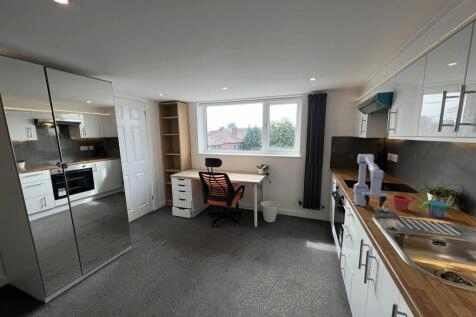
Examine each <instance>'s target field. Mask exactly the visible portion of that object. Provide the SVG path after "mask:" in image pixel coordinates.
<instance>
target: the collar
mask: <svg viewBox="0 0 476 317" xmlns="http://www.w3.org/2000/svg"><path fill="white" fill-rule="evenodd" d="M373 211H374V212H373ZM372 212H373V213H374V214H375V215H376V216H377V217H378V218H384V219H394V220H399V218H400V216H399V215H398V214H397V213H395V212H394V211H393V210H392V209H389V210H388V213H382V208H381V207H379V208H377V207H372Z"/></svg>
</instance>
